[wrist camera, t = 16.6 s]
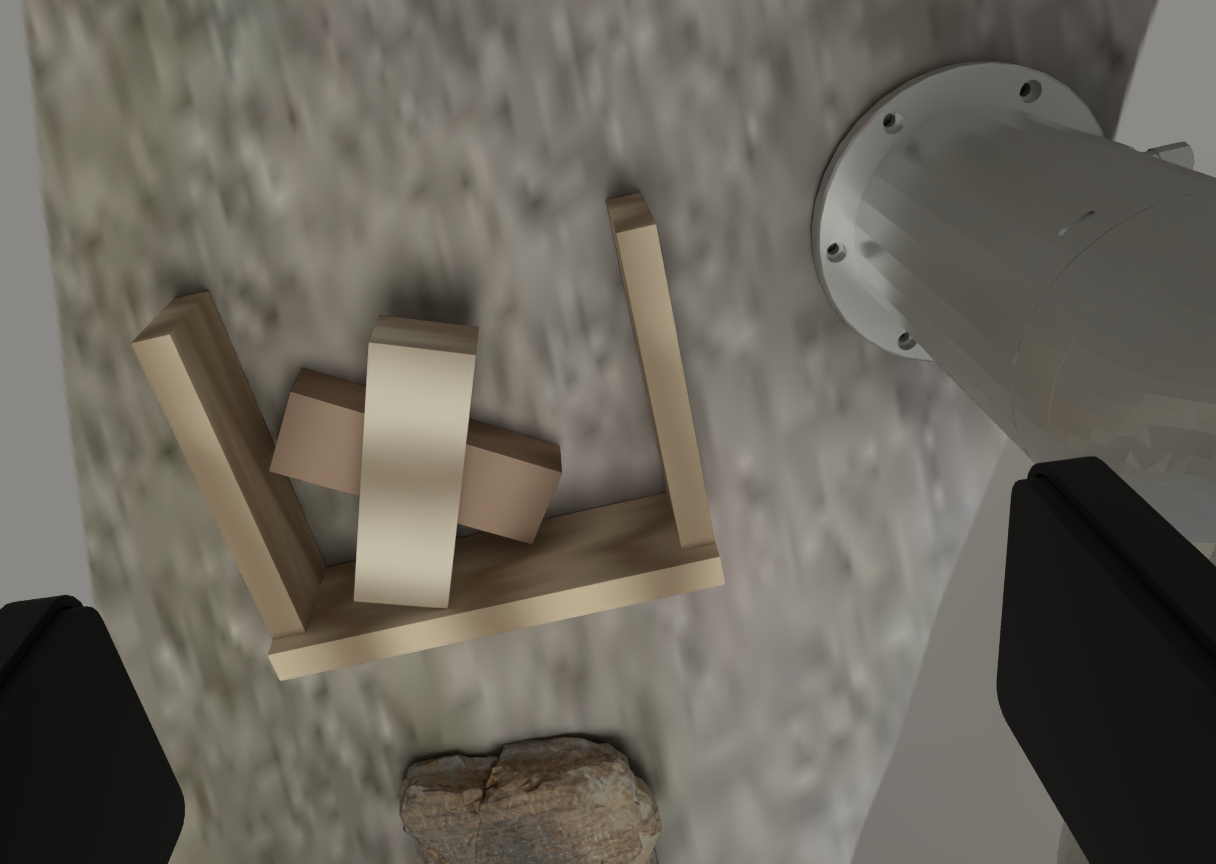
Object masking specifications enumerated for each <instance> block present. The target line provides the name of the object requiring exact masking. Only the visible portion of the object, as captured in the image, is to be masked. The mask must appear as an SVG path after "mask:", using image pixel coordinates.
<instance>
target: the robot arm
mask: <svg viewBox="0 0 1216 864" xmlns="http://www.w3.org/2000/svg"><path fill="white" fill-rule="evenodd" d="M1024 84H1025V85H1026V88H1025V91H1024V92H1023V93H1022V94H1020V90H1021V87H1022V86H1023V85H1024ZM887 114H891V116H892V119H891V122H890V123H889V124H888V125H886V126H884V125H883V120H884V118H885V117H886V115H887ZM1193 165H1194V155H1193V152H1192V149H1191V147H1190V145H1188V144H1187V143H1186V142H1179V143H1175V144H1170V145H1165V146H1161V147H1157V148H1152V149H1148V150H1147V151H1146V152H1139V151H1136V150H1135V149H1134V148H1132V147H1129V146H1127V145H1124V144H1121V143H1118V142H1115V141H1112V140H1109V139H1106V138H1105V136H1104V133H1103V130H1102V128H1101V126H1100V125H1099V123H1098V122H1097V120H1096V118H1095V117H1094V115H1093V113H1092V112H1091V110H1090V108H1089V107H1088V106H1087V105H1086V104H1085V103H1084V102H1083V101H1082V100H1081V99H1080V98H1079V97H1078V96H1077V95H1076V94H1075V93H1074V92H1073V91H1072V90H1071V89H1070V88H1069V87H1068V86H1066V85H1064V84H1063V83H1061V82H1059V81H1058V80H1056V79H1054V78H1053V77H1051V76H1049V75H1048V74H1046V73H1043V72H1040V71H1037V70H1034V69H1031V68H1028V67H1025V66H1021V65H1016V64H1011V63H1005V62H1000V61H967V62H962V63H958V64H954V65H949V66H945V67H940V68H936V69H934V70H932V71H930V72H927V73H925V74H923V75H920V76H918V77H916V78H914V79H911V80H909V81H907V82H906V83H904V84H903V85H901V86H900V87H898V88H897V89H895V90H894V91H892V92H891V93H889V94H888V95H886V96H885V97H883V98H882V99H880V100H879V101H878V102H877V103H876V104H875V105H874V106H873V107H872V108H871V109H870V110H869V111H868V112H867V113H866V114H864V115H863V116H862V117H861V118H860V119H859V120H858V121H857V123H856V124H855V125H854V126H853V128H852V129H851V130H850V132H849V133H848V134H847V136H846V137H845V138H844V140H843V141H842V142H841V144H840V145H839V146H838V148H837V150H836V152H835V154H834V156H833V158H832V160H831V162H830V163H829V165H828V167H827V169H826V171H825V173H824V176H823V179H822V182H821V185H820V188H819V191H818V195H817V198H816V201H815V207H814V214H813V222H812V229H811V231H812V248H813V259H814V263H815V266H816V270H817V274H818V278H819V281H820V284H821V286H822V288H823V289H824V291H825V293H826V295H827V297H828V299H829V301H830V303H831V305H832V306H833V307H834V308H835V310H836V311H837V312H838V314H839V315H840V316H841V318H842V319H843V320H844V321H845V322H846V323H847V324H848V325H849V326H850V327H851V328H852V329H853V330H854V331H855V332H856V333H857V334H858V335H859V336H860V337H862V338H863V339H865V340H867V341H868V342H870V343H871V344H873V345H875V346H876V347H878V348H880V349H881V350H884V351H886V352H889V353H892V354H894V355H897V356H900V357H903V358H909V359H916V360H923V361H935V362H936V363H937V364H938V365H939V366H940V367H941V368H942V369H943V370H944V371H945V372H946V373H947V374H948V375H949V376H950V377H951V378H952V379H953V380H954V381H955V382H956V383H957V384H958V385H959V386H960V387H961V388H962V389H963V390H964V391H965V392H966V394H967V395H968V396H969V397H970V398H971V399H972V400H973V401H974V402H975V403H976V404H977V405H978V406H979V407H980V408H981V409H982V410H983V411H984V412H985V413H986V414H987V415H988V416H989V417H990V418H991V419H992V420H993V421H994V422H995V423H996V424H997V425H998V426H999V427H1000V428H1001V429H1002V430H1003V431H1004V432H1005V433H1006V435H1007V436H1008V437H1009V438H1010V439H1011V440H1012V441H1014V443H1015V444H1016V445H1017V446H1018V447H1019V448H1020V449H1021V450H1022V451H1023V452H1024V453H1025V454H1026V455H1027V456H1028V457H1029V458H1030V459H1031V460H1032V461H1033V462H1034V463H1035V465H1033V466H1032V468H1031V469H1030V471H1029V473H1028V477H1027V479H1023V480H1018V481H1017V482H1015V484H1014V486H1013V488H1012V493H1011V504H1010V518H1009V529H1008V543H1007V555H1006V568H1005V581H1004V593H1003V606H1002V618H1001V631H1000V644H999V657H998V670H997V695H998V700H999V705H1000V708H1001V710H1002V714H1003V716H1004V718H1005V720H1006V722H1007V724H1008V726H1009V727H1010V729H1011V731H1012V732H1013V734H1014V736H1015V737H1016V739H1017V741H1018V743H1019V744H1020V746H1021V747H1022V749H1023V751H1024V753H1025V754H1026V756H1027V758H1028V760H1029V761H1030V763H1031V764H1032V766H1033V768H1034V770H1035V771H1036V773H1037V775H1038V777H1039V778H1040V780H1041V782H1042V783H1043V785H1044V787H1045V788H1046V790H1047V792H1048V794H1049V795H1050V797H1051V799H1052V801H1053V802H1054V804H1055V805H1056V807H1057V809H1058V811H1059V812H1060V814H1061V816H1062V817H1063V819H1064V822H1063V825H1062V829H1061V834H1060V839H1059V845H1058V851H1057V864H1216V544H1215V547H1214V550H1213V552H1212V554H1211V556H1210V558H1209V560H1208V559H1207V558H1206V557H1205V556H1204V555H1203V554H1202V553H1201V552H1200V551H1199V550H1198V549H1197V548H1196V547H1195V546H1193V545H1192V544H1191V543H1190V542H1197V543H1216V178H1215V177H1212V176H1209V175H1206V174H1203V173H1200V172H1197V171H1194V170H1192V169H1193ZM833 243H836V248H835V249H834V250H833V251H831V252H827V249H828V247H829V246H830V245H831V244H833ZM903 333H905V335H904V336H903V337H902V338H899V337H900V336H901V335H902V334H903ZM184 817H185V803H184V797H183V794H182V791H181V788H180V786H179V784H178V782H177V780H176V777H175V775H174V773H173V771H172V769H171V767H170V764H169V762H168V760H167V758H166V756H165V754H164V751H163V749H162V747H161V745H160V743H159V741H158V738H157V736H156V734H155V732H154V730H153V728H152V725H151V723H150V721H149V719H148V717H147V715H146V712H145V710H144V708H143V706H142V704H141V702H140V699H139V697H138V695H137V693H136V691H135V689H134V686H133V684H132V682H131V680H130V678H129V676H128V673H127V671H126V669H125V667H124V665H123V663H122V660H121V658H120V656H119V654H118V652H117V650H116V647H115V645H114V643H113V641H112V639H111V637H110V634H109V632H108V630H107V628H106V626H105V624H104V621H103V619H102V617H101V616H100V614H99V613H98V611H96V610H95V609H94V608H93V607H88V606H86V607H84V606H83V605H82V603H81V602H80V601H78V600H77V599H76V598H75V597H73V596H69V595H62V596H55V597H47V598H40V599H32V600H25V601H17V602H12V603H9V604H6V605H5V606H4V607H3V608H1V609H0V864H168V862H169V859H170V857H171V855H172V852H173V850H174V847H175V845H176V843H177V840H178V838H179V835H180V833H181V830H182V827H183V823H184Z"/></svg>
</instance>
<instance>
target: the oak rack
mask: <svg viewBox="0 0 1216 864" xmlns="http://www.w3.org/2000/svg"><path fill="white" fill-rule="evenodd" d="M606 204H607V209H608V214H609V219H610V223H611V228H612V233H613V238H614V243H615V247H616V252H617V257H618V262H619V266H620V271H621V276H622V281H623V286H624V290H625V295H626V300H627V305H628V310H629V314H630V319H631V324H632V329H633V333H634V338H635V343H636V348H637V353H638V357H639V362H640V367H641V372H642V376H643V381H644V386H645V391H646V396H647V400H648V405H649V410H650V415H651V419H652V424H653V429H654V434H655V439H656V443H657V448H658V453H659V458H660V462H661V467H662V472H663V477H664V482H665V486H666V491H667V492H666V493H662V494H657V495H653V496H648V497H644V498H639V499H635V500H630V501H625V502H621V503H616V504H612V505H607V506H603V507H598V508H594V509H589V510H584V511H580V512H575V513H571V514H566V515H562V516H557V517H553V518H548V519H544V520H542V522H541V524H540V527H539V529H538V531H537V534H536V536H535V539H534V541H533V543H532V544H529V543H526V542H522V541H518V540H515V539H511V538H508V537H504V536H500V535H497V534H493V533H490V532H484V533H480V534H475V535H471V536H466V537H462V538H457V539H455V547H454V556H453V565H452V574H451V583H450V592H449V601H448V609H445V608H433V607H420V606H408V605H395V604H383V603H370V602H357V601H354V589H355V572H356V561H352V562H348V563H343V564H339V565H334V566H330V567H326V565H325V563H324V560H323V558H322V556H321V553H320V551H319V549H318V546H317V544H316V542H315V539H314V537H313V534H312V532H311V530H310V527H309V525H308V523H307V520H306V518H305V516H304V513H303V511H302V509H301V506H300V504H299V502H298V499H297V497H296V495H295V492H294V490H293V487H292V485H291V483H290V480H289V478H288V476H284V475H281V474H277V473H273V472H270V471H269V470H270V466H271V462H272V458H273V455H274V451H275V445H274V443H273V440H272V438H271V436H270V433H269V431H268V429H267V426H266V424H265V422H264V419H263V417H262V415H261V412H260V410H259V408H258V405H257V403H256V400H255V398H254V396H253V393H252V391H251V389H250V386H249V384H248V382H247V379H246V377H245V375H244V372H243V370H242V368H241V365H240V363H239V361H238V358H237V356H236V353H235V351H234V349H233V346H232V344H231V342H230V339H229V337H228V335H227V332H226V330H225V328H224V325H223V323H222V321H221V318H220V316H219V313H218V311H217V309H216V306H215V304H214V302H213V299H212V297H211V295H210V292H209V291H205V292H201V293H196V294H192V295H188V296H183V297H179V298H174V299H173V300H172V301H171V302H170V303H169V304H168V305H167V306H166V308H165V309H164V310H163V311H162V312H161V313H160V314H159V315H158V316H157V317H156V318H155V319H154V320H153V321H152V322H151V323H150V324H149V325H148V326H147V327H146V328H145V329H144V330H143V331H142V332H141V333H140V334H139V335H138V336H137V338H136V339H135V340H134V341H133V342H132V343H131V345H132V347H133V349H134V351H135V353H136V355H137V357H138V359H139V361H140V364H141V366H142V368H143V370H144V372H145V374H146V376H147V378H148V380H149V382H150V384H151V387H152V389H153V391H154V393H155V395H156V397H157V399H158V401H159V403H160V405H161V407H162V409H163V412H164V414H165V416H166V418H167V420H168V422H169V424H170V426H171V428H172V430H173V432H174V435H175V437H176V439H177V441H178V443H179V445H180V447H181V449H182V451H183V453H184V455H185V457H186V460H187V462H188V464H189V466H190V468H191V470H192V472H193V474H194V476H195V478H196V480H197V483H198V485H199V487H200V489H201V491H202V493H203V495H204V497H205V499H206V501H207V503H208V505H209V508H210V510H211V512H212V514H213V516H214V518H215V520H216V522H217V524H218V526H219V528H220V531H221V533H222V535H223V537H224V539H225V541H226V543H227V545H228V547H229V549H230V551H231V554H232V556H233V558H234V560H235V562H236V564H237V566H238V568H239V570H240V572H241V574H242V576H243V579H244V581H245V583H246V585H247V587H248V589H249V591H250V593H251V595H252V597H253V599H254V602H255V604H256V606H257V608H258V610H259V612H260V614H261V616H262V618H263V620H264V622H265V624H266V627H267V629H268V631H269V633H270V635H271V637H272V639H273V642H272V645H271V647H270V650H269V653H268V657H269V659H270V661H271V663H272V665H273V667H274V669H275V671H276V673H277V675H278V677H279V679H280V681H282V680H287V679H291V678H296V677H301V676H305V675H310V674H315V673H319V672H324V671H328V670H333V669H338V668H342V667H347V666H351V665H356V664H361V663H365V662H370V661H374V660H379V659H384V658H388V657H393V656H397V655H402V654H407V653H411V652H416V651H421V650H425V649H430V648H434V647H439V646H444V645H448V644H453V643H457V642H462V641H467V640H471V639H476V638H480V637H485V636H490V635H494V634H499V633H503V632H508V631H513V630H517V629H522V628H527V627H531V626H536V625H540V624H545V623H550V622H554V621H559V620H563V619H568V618H573V617H577V616H582V615H586V614H591V613H596V612H600V611H605V610H609V609H614V608H619V607H623V606H628V605H633V604H637V603H642V602H646V601H651V600H656V599H660V598H665V597H669V596H674V595H679V594H683V593H688V592H692V591H697V590H702V589H706V588H711V587H715V586H720V585H725V582H724V577H723V572H722V566H721V561H720V556H719V553H718V550H717V547H716V543H715V538H714V533H713V527H712V522H711V517H710V511H709V506H708V500H707V495H706V490H705V484H704V479H703V474H702V468H701V463H700V458H699V452H698V447H697V441H696V436H695V431H694V425H693V420H692V415H691V409H690V404H689V399H688V393H687V388H686V382H685V377H684V372H683V366H682V361H681V356H680V350H679V345H678V339H677V334H676V329H675V323H674V318H673V313H672V307H671V302H670V297H669V291H668V286H667V280H666V275H665V270H664V264H663V259H662V254H661V248H660V243H659V238H658V232H657V227H656V223H655V221H654V219H653V217H652V215H651V212H650V210H649V208H648V206H647V204H646V202H645V200H644V197H643V195H642V193H641V192H640V193H636V194H631V195H627V196H622V197H618V198H614V199H609V200H606Z"/></svg>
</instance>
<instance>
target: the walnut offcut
mask: <svg viewBox="0 0 1216 864" xmlns="http://www.w3.org/2000/svg"><path fill="white" fill-rule="evenodd" d="M365 399H366V387H364V386H361V385H358V384H355V383H351V382H348V381H345V380H342V379H338V378H335V377H332V376H328V375H325V374H322V373H319V372H315V371H312V370H309V369H306V368H302V370H301V372H300V374H299V376H298V378H297V380H296V382H295V384H294V386H293V388H292V390H291V392H290V395H289V399H288V403H287V407H286V410H285V414H284V418H283V421H282V425H281V429H280V432H279V436H278V440H277V444H276V447H275V451H274V455H273V458H272V462H271V466H270V470H269V471H270V472H273V473H277V474H281V475H284V476H288V477H292V478H295V479H299V480H302V481H306V482H310V483H313V484H317V485H320V486H324V487H328V488H331V489H335V490H338V491H342V492H346V493H349V494H353V495H356V496H360V485H361V468H362V451H363V434H364V416H365ZM561 474H562V466H561V453H560V446H557V445H554V444H551V443H547V442H544V441H541V440H538V439H534V438H531V437H528V436H525V435H521V434H518V433H515V432H512V431H508V430H505V429H502V428H498V427H495V426H492V425H489V424H485V423H482V422H479V421H476V420H472V419H469V421H468V430H467V439H466V448H465V457H464V466H463V475H462V484H461V493H460V502H459V511H458V520H457V524H461V525H464V526H468V527H472V528H475V529H479V530H482V531H486V532H490V533H493V534H497V535H500V536H504V537H508V538H511V539H515V540H518V541H522V542H526V543H529V544H532V543H533V541H534V539H535V536H536V534H537V531H538V529H539V527H540V524H541V522H542V520H543V517H544V515H545V512H546V510H547V508H548V505H549V503H550V500H551V498H552V496H553V493H554V491H555V488H556V486H557V484H558V481H559V479H560V476H561Z"/></svg>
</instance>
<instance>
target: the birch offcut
mask: <svg viewBox="0 0 1216 864" xmlns="http://www.w3.org/2000/svg"><path fill="white" fill-rule="evenodd" d="M478 329H479V327H473V326H465V325H456V324H448V323H440V322H432V321H424V320H416V319H408V318H400V317H392V316H384V315H379V316H378V319H377V322H376V324H375V327H374V330H373V332H372V335H371V338H370V341H369V347H368V365H367V382H366V399H365V416H364V434H363V451H362V468H361V485H360V503H359V520H358V537H357V554H356V572H355V589H354V601H357V602H370V603H383V604H395V605H408V606H420V607H433V608H445V609H448V601H449V592H450V583H451V574H452V565H453V556H454V547H455V538H456V529H457V520H458V511H459V502H460V493H461V484H462V475H463V466H464V457H465V448H466V439H467V430H468V421H469V412H470V403H471V394H472V385H473V376H474V367H475V359H476V349H477V339H478Z"/></svg>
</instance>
